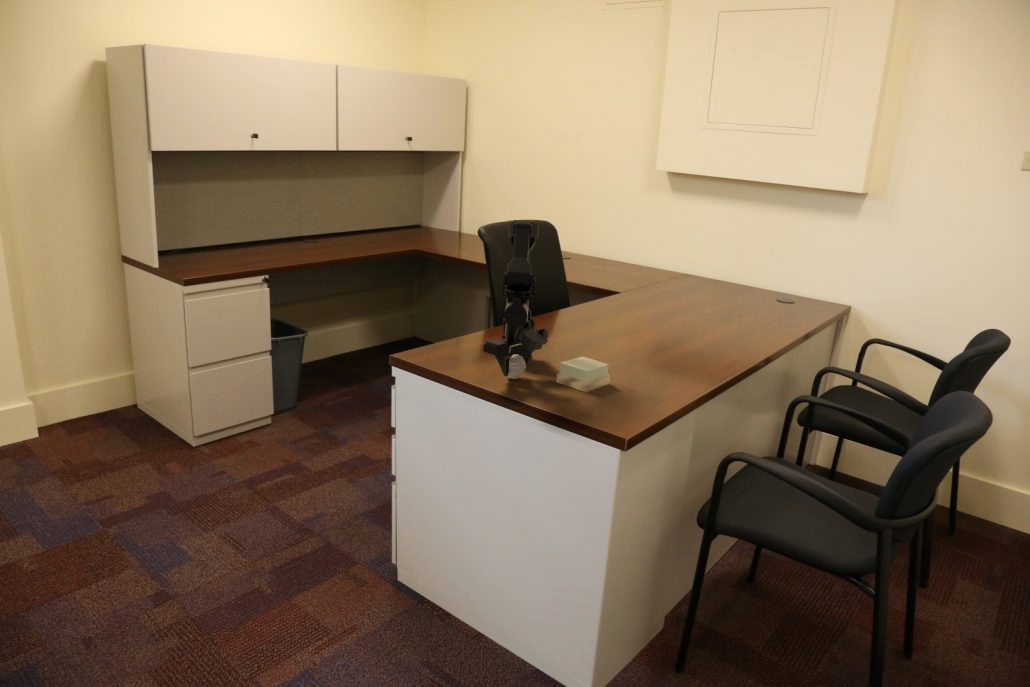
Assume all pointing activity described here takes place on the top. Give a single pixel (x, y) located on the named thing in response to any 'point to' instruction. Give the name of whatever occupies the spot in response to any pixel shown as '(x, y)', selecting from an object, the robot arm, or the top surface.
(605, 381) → the lower block
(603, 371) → the upper block
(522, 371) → the frog figurine
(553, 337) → the top surface
